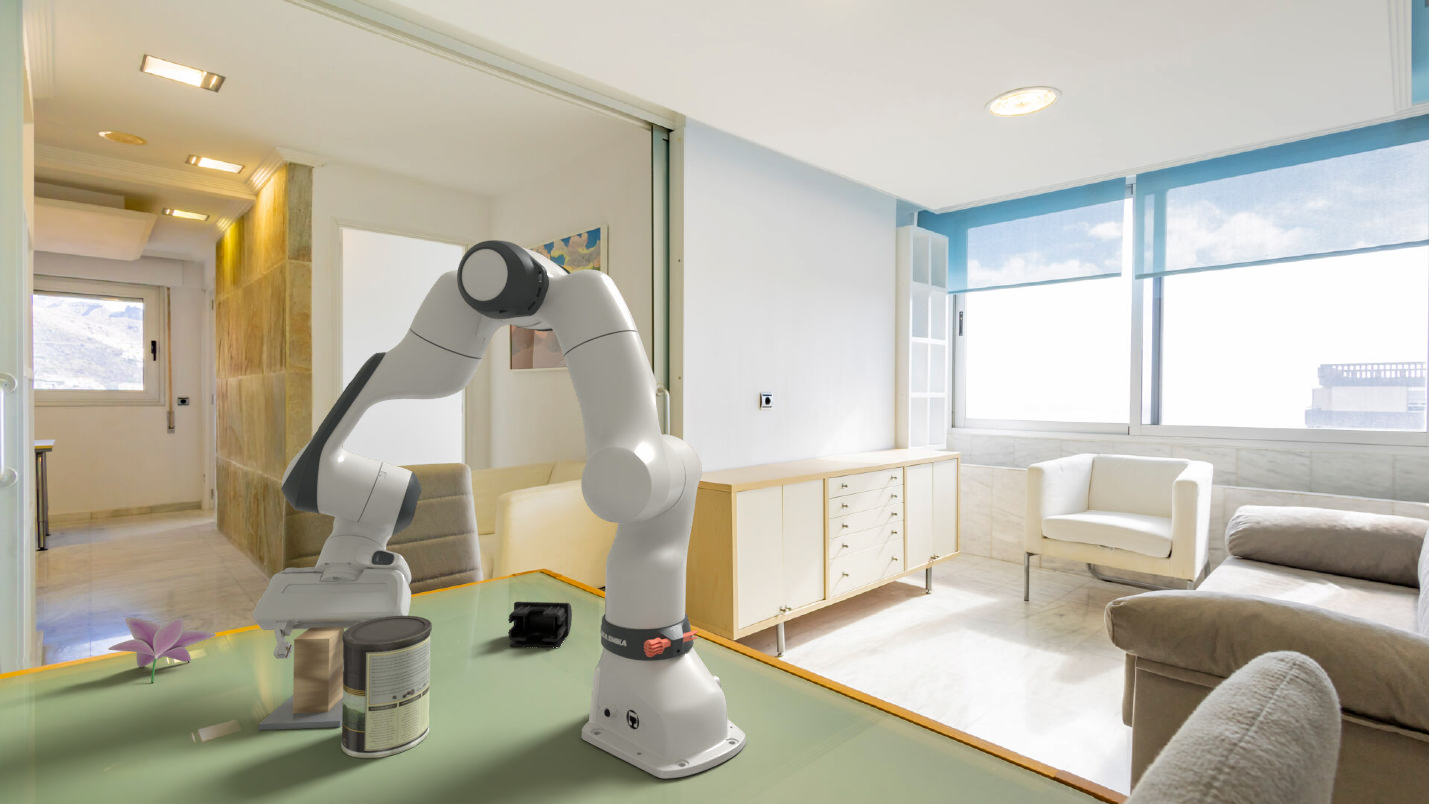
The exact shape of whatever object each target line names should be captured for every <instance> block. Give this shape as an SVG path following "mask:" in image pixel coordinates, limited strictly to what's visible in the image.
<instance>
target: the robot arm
mask: <svg viewBox="0 0 1429 804" xmlns="http://www.w3.org/2000/svg"><path fill="white" fill-rule="evenodd" d="M508 325H511V326H513V327H515V328H520V329H527V330H532V331H537V332H553V333H554V335H555V336H556V339H557V341H558V345H559V347H560V349H561V350H560V351H561V353H562V357H563V359H564V362H565V366H566V368H567V372H568V374H569V377H570V379H571V384H572V386H573V389H574V392H575V394H576V395H575V396H576V398H577V401H578V404H579V408H580V412H581V413H580V414H581V417H582V424H583V431H584V443H585V454H586V455H585V457H586V461H585V465H584V469H583V471H582V474H581V481H580V483H581V485H580V486H581V493H582V496H583V498H584V502H585V503H586V505H587V507H588V509H590V511H591V512H592V513H593V514H595V516H597V517H598V518H600V519H602V520H604V521H606V522H610V523H614V524H617V529H616V532H615V536H614V539H613V542H612V544H611V547H610V550H609V552H608V554H607V557H606V561H605V585H604V586H605V590H604V591H605V592H604V599H605V600H604V603H605V604H604V614H603V615H602V617H601V624H600V643H601V646H602V647H603V648H602V652H601V655H600V659H599V660H598V662H597V665H596V667H595V669H594V671H593V679H592V688H591V697H590V705H589V707H590V708H589V716H588V721H587V722H586V723H585V725H584V726H582V729H581V739H582V740H584V741H586V742H587V743H589V744H591V745H593V746H595V747H597V748H599V749H601V750H603V751H605V752H607V753H609V754H611V755H613V756H614V757H617V758H619V759H621V760H623V761H625V762H627V763H629V764H631V765H633V766H635V767H636V768H638V769H641V770H643V771H645V772H646V773H649V774H651V775H652V776H654V777H656V778H660V779H675V778H682V777H683V778H684V777H687V776H691V775H694V774H698V773H700V772H703V771H706V770H708V769H711V768H713V767H715V766H718V765H720V764H722V763H724V762H726V761H728V760H729V759H731V758H733V757H734V756H735V755H737V754H738V753H740V751H741V750H742V749H744V747H745V746H746V744H747V743H746V742H747V738H746V737H747V736H746V733H745V732H744V731H743V730H742V729H741V728H739V727H738V726H737V725H736V724H734V723H733V722H732V721H731V720H730V719H729V718H728V709H727V708H728V707H727V700H726V697H725V694H724V693H725V692H724V691H723V690H722V689H723V688H722V683H721V680H720V678H719V677H718V676H717V675H713V674H711V671H709V669H708V668H707V666H706V664H705V663H704V662H703V660H702V659H701V657H700V656H699V654H698V653H697V652H696V650H695V648H694V640H696V639H698V636H695V635H696V634H697V633H698V632H699V631H698V630H692V629H691V628H692V627H691V623H690V620H689V615H688V614H687V613H686V597H687V596H686V593H687V591H686V587H687V586H686V585H687V560H688V551H689V544H690V538H691V533H692V527H693V522H694V516H695V508H696V503H697V502H696V501H697V493H698V488H699V484H700V481H701V479H702V478H701V477H702V472H703V468H702V467H703V466H702V461H701V458H700V456H699V454H698V451H696V449H695V448H694V447H693V446H692V445H691V444H690V443H688V442H687V441H686V440H683V439H681V438H679V437H677V436H674V435H671V434H665V433H663V434H662V431H661V426H660V425H661V424H660V420H659V412H658V407H657V406H658V404H657V392H658V385H657V380H656V377H655V374H654V372H653V369H652V366H651V364H650V360H649V358H648V355H647V352H646V350H645V347H644V344H643V341H642V338H641V336H640V333H639V330H638V327H637V324H636V323H635V320H634V318H633V316H632V313H631V311H630V308H629V307H628V304H627V303H626V301H625V299H624V297H623V295H622V293H621V292H620V290H619V288H618V286H617V285H616V283H615V282H614V280H613V279H612V277H610V276H609V275H608V274H606V273H604V272H603V271H600V270H597V269H590V268H589V269H579V270H576V271H572V272H570V271H569V270H568V269H567V268H565V267H564V266H562V265H560V264H557V263H555V262H554V261H552V260H551V259H549V258H547V257H546V256H545V255H542V254H541V253H539V252H537V251H534V250H532V249H528V248H526V247H522V246H519V245H518V244H516V243H513V242H511V241H507V240H506V241H505V240H499V239H498V240H495V239H494V240H490V239H489V240H485V241H481V242H478V243H476V244H474V245H473V246H471V247H470V248H469V249H468V250H467V251H466V252H465V253H464V255H463V256H462V258H461V260H460V261H459V264H458V268H457V270H450V271H447V272H445V273H442V275H440V276H439V277H438V279H437V280H436V281H435V283H434V284H433V286H432V287H431V288H430V290H429V291H428V293H427V294H426V296H425V298H424V299H423V301H422V303H421V305H420V306H419V308H418V310H417V312H416V313H415V316H414V318H413V320H412V321H411V324H410V325H409V328H408V329H407V330H408V331H407V333H406V334H405V335H404V337H403V339H402V340H401V341H400V342H398V344H397V345H395V346H394V347H393V348H391V349H390V350H388V351H382V352H375V353H374V354H373V355H371V356H370V357H369V358H368V359H367V360H366V361H365V362H364V363H363V364H362V366H361V367H360V368H359V370H358V371H357V373H356V374H355V376H354V377H353V378H352V380H351V381H349V383H348V384H347V386H346V387H345V389H344V390H343V391H342V393H341V395H340V396H339V397H338V399H337V400H336V402H335V403H334V405H333V406H332V407H331V409H330V410H329V412H328V414H327V415H326V416H325V418H324V419H323V420H322V422H321V423H320V425H319V426H318V428H317V431H315V433H314V435H313V436H312V437H311V439H310V440H309V442H307V444H306V445H304V447H302V449H300V450H299V451H298V452H297V454H296V455H295V456H294V457H293V458H292V460H291V461H290V463H288V466H287V467H286V470H285V471H284V474H283V476H282V480H281V488H280V490H281V492H282V494H283V496H284V498H285V499H286V501H287V502H288V503H289V504H290V506H291V507H292V508H293V510H296V511H301V512H305V513H306V512H308V513H312V514H313V513H314V514H318V515H319V514H322V515H327V516H330V517H334V519H333V522H332V523H333V525H332V527H333V528H332V532H331V534H330V535H329V536H328V537H327V538H326V539H325V542H324V544H323V547H322V549H321V552H320V554H319V557H318V559H317V561H316V564H315V566H313V567H312V566H311V567H307V566H306V567H299V568H298V567H287V568H285V569H284V570H282V571H279V572H277V573H275V574H273V575H272V577H271V578H270V581H269V583H268V585H267V588H266V589H265V591H264V592H263V594H262V596H261V597H260V599H259V601H258V603H257V604H256V606H255V608H254V610H253V612H252V618H253V619H254V622H255V623H256V625H258V627H259V628H260V629H262V630H263V631H274V635H275V639H276V646H275V648H274V650H273V656H274V658H276V659H277V660H278V659H281V660H282V659H289V658H290V657H291V653H292V652H293V651H294V645H292V644H291V642H290V641H287V638H286V637H289V636H291V634H292V633H293V631H294V630H296V631H297V630H308V629H310V628H326V627H344V629H348V628H350V627H352V626H354V625H356V624H359V623H362V622H365V621H368V620H372V619H377V618H383V617H390V616H409V613H410V607H411V601H412V591H411V588H410V586H409V585H410V584H411V581H412V574H411V573H412V572H411V570H410V567H409V564H408V563H407V561H406V560H405V558H404V556H403V555H401V554H399V553H397V552H392V551H390V550H387V544H388V541H389V540H390V539H391V537H393V536H396V535H398V534H399V533H401V532H402V531H403V530H405V529H408V527H410V526H411V524H412V521H413V520H414V518H415V513H416V510H417V506H418V501H419V499H420V496H421V493H422V491H423V488H422V484H421V482H420V480H419V478H418V477H417V475H416V474H415V472H414V471H411V470H409V469H407V468H404V467H402V466H398V465H395V464H392V463H389V462H385V461H379V460H376V459H373V458H370V457H366V456H363V455H360V454H358V453H357V454H356V453H353V452H350V451H347V450H346V449H345V448H343V444H345V442H346V440H347V439H348V438H349V436H350V435H351V433H352V432H353V430H354V429H355V427H356V425H358V423H359V421H360V420H361V418H362V417H363V416H364V414H365V413H366V411H367V410H368V409H369V408H371V407H372V406H373V405H376V404H378V403H381V402H384V401H390V400H434V399H441V398H442V399H443V398H445V397H446V398H447V397H449V396H452V395H455V394H457V393H459V392H460V391H462V390H464V389H465V388H466V387H467V386H469V384H470V382H471V381H472V379H473V378H474V377H475V374H476V373H477V371H478V369H479V367H480V365H481V363H482V361H483V359H484V356H485V354H486V351H487V349H488V347H489V344H490V343H491V340H492V338H493V336H495V334H496V332H497V331H498V330H499V329H501V328H502V327H505V326H508Z"/></svg>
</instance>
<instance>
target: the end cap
mask: <svg viewBox="0 0 1429 804" xmlns="http://www.w3.org/2000/svg"><path fill="white" fill-rule="evenodd" d="M572 610H573V609H572V606H571V604H570V603H569V602H556V601H555V602H553V601H552V602H551V601H550V602H549V601H545V602H544V601H543V602H542V601H515V602H514V603H513V611H512V612H511V613H510V614H509V616H508V624H512V623H513V625H512V626H511V627H510V629H509V630H508V632H507V634H508V639H509V640H510V642H509V647H510V648H526V649H528V648H527V647H529V648H530V647H531V649H533V648H534V647H535V648H534V649H557V648H556V647H560V646H561V644H562V643H563V641H564V640H565V641H566V639H567V637H568V636H569V635H570V632H571V627H572V621H573V620H572V619H573V611H572ZM565 638H566V639H565ZM565 641H564V642H565ZM563 644H564V643H563ZM563 644H562V645H563ZM532 647H533V648H532ZM536 647H537V648H536ZM553 647H554V648H553ZM561 647H562V646H561ZM561 647H560V648H561Z"/></svg>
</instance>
